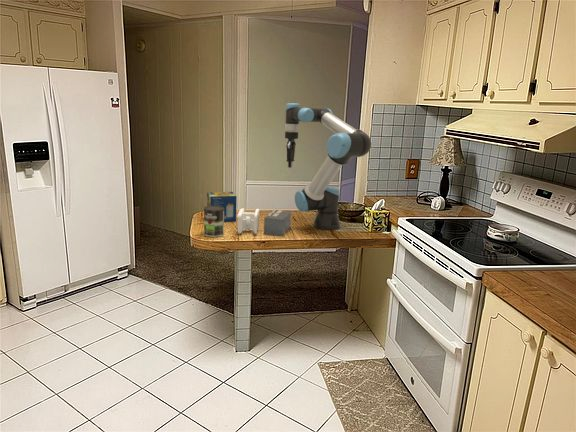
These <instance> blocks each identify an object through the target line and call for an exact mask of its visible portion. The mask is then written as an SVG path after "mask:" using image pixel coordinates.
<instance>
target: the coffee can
mask: <svg viewBox="0 0 576 432" xmlns="http://www.w3.org/2000/svg"><path fill="white" fill-rule="evenodd" d="M203 211H204V214H203V216H204V217H203V220H204V221H203V222H204V223H203V225H204V226H203V232H204V233H203V235H204V236H206V237H209V238H219V237H222V236H224V234H225V233H224V232H225V229H224V228H225V222H224V207H221V206H207V205H206V206H204V207H203Z"/></svg>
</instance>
